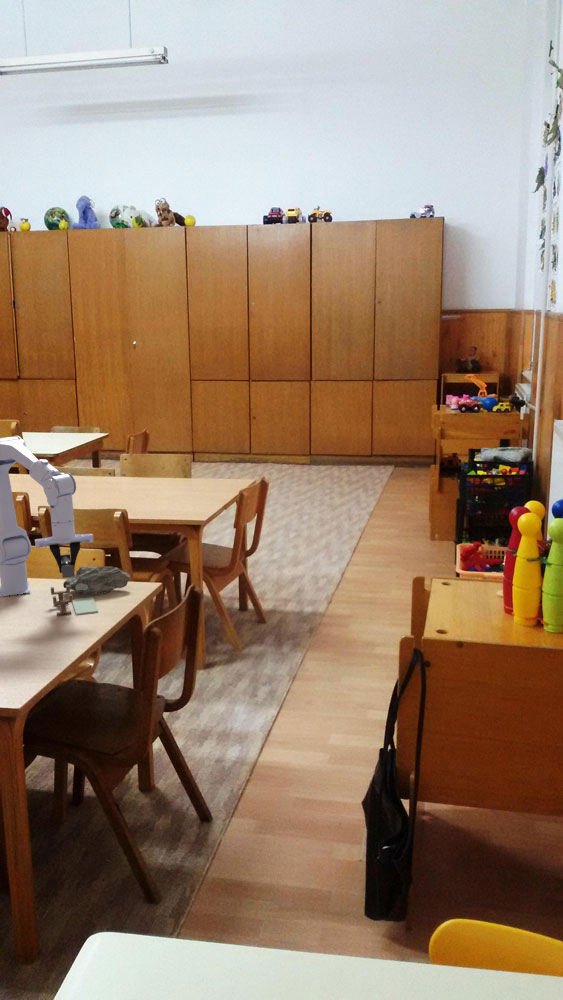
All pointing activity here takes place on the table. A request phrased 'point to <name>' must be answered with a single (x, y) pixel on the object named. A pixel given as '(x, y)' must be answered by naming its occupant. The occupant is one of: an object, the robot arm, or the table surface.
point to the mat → (84, 606)
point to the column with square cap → (67, 566)
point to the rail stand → (62, 600)
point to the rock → (97, 580)
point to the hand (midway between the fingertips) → (66, 571)
